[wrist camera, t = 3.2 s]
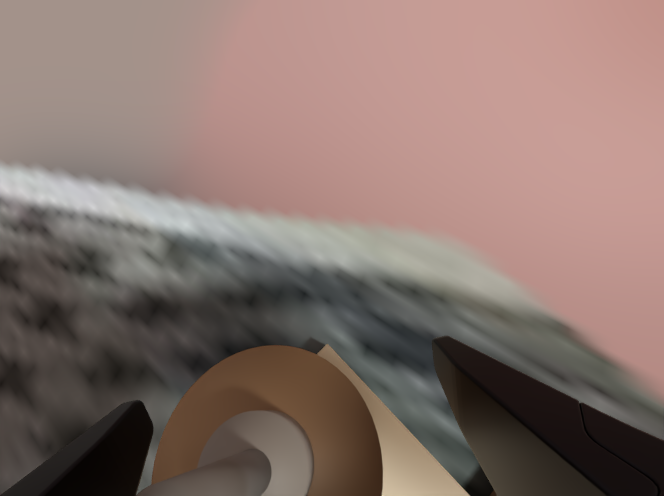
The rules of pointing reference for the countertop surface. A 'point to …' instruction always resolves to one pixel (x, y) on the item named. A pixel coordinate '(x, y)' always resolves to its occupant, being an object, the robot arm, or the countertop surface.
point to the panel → (400, 447)
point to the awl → (269, 431)
